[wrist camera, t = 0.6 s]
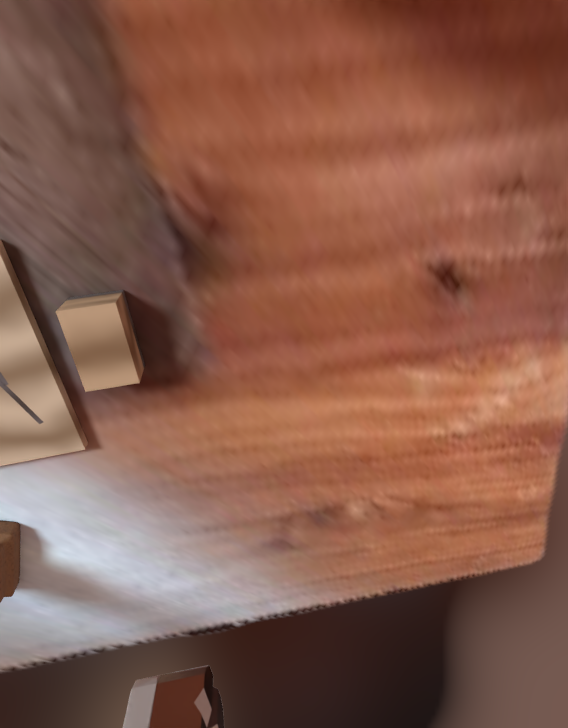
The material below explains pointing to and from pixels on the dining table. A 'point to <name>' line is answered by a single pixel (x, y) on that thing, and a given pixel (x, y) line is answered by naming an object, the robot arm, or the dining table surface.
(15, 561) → the candle holder
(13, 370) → the board
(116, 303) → the block
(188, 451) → the dining table surface
